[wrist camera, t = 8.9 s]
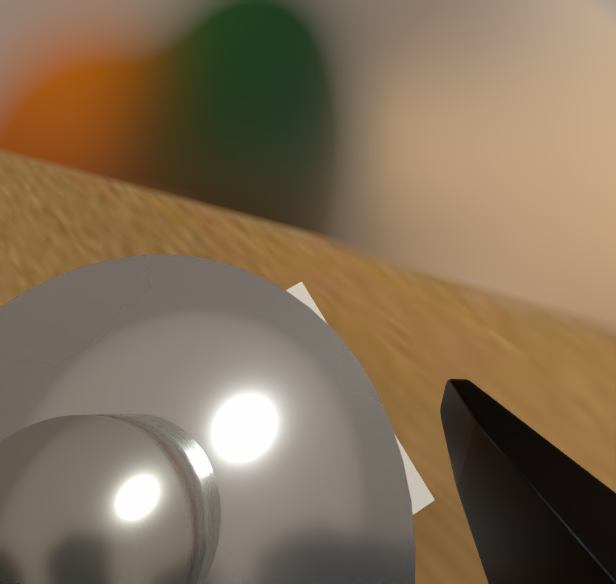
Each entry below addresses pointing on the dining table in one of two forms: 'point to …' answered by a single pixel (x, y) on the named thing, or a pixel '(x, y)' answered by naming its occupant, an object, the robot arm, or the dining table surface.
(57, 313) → the battery cell
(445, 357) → the dining table surface
